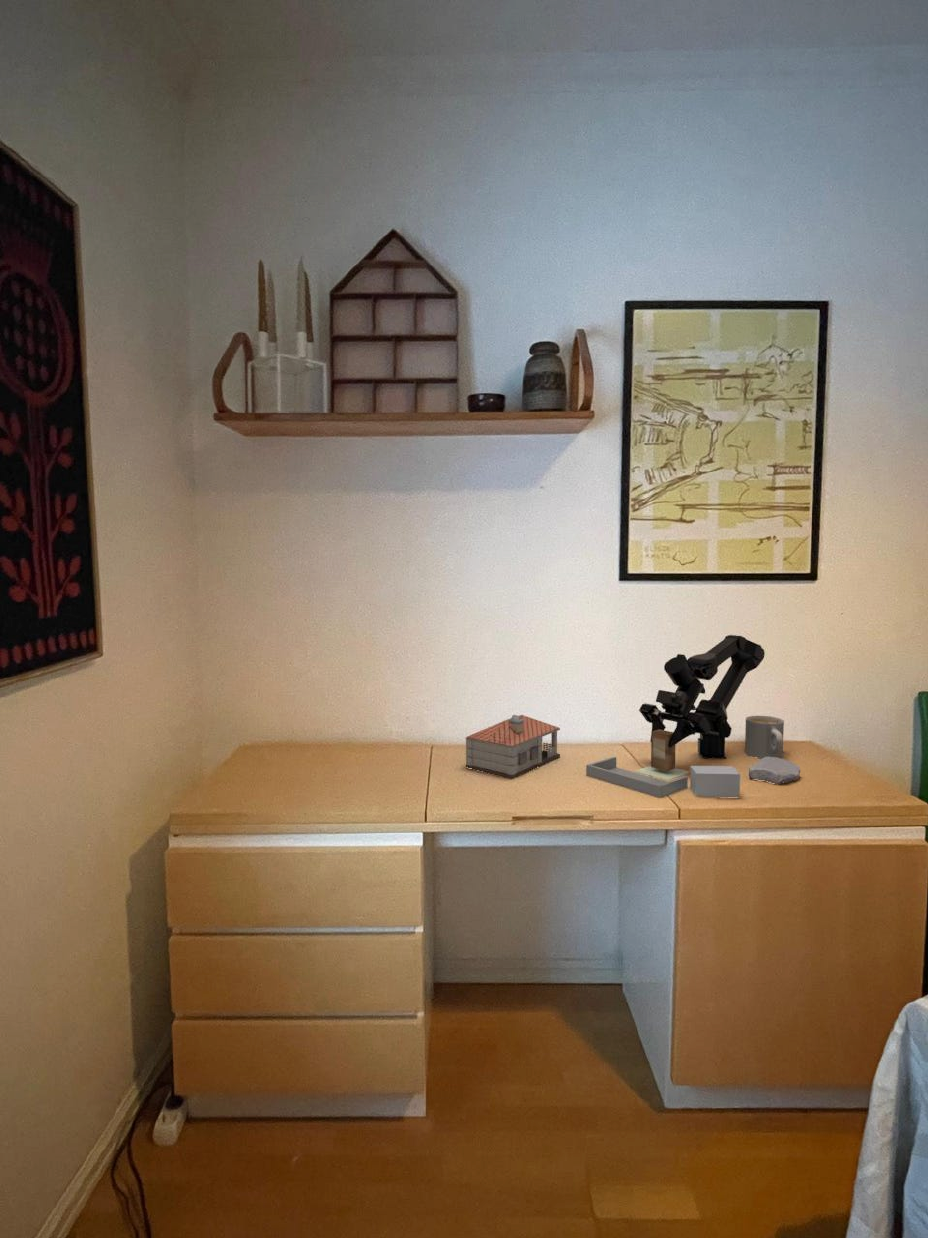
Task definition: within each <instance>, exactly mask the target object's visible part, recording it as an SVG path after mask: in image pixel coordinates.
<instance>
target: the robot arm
mask: <svg viewBox="0 0 928 1238" xmlns="http://www.w3.org/2000/svg"><path fill="white" fill-rule="evenodd" d="M764 658H765V650H764V648H763V647H762V645H761V644H757V643H756V642H754V641H753V642H752V641H751V640H749V639H747V638H745V636H743V635H735V634H729V635H726V636H725V637H724V639H722V640H721V641H720V642H719V643H717V644H716V645H714V646H713V647H712V648H711V649H709V650H708V651H706V652H705V653H701V654H695V655H692V656H690V657H689V658H687V657H686V655H685V654H681V653H677V654H676V656H675V657H672V658H670V659H668V661H666V662H665V663H664V666H663V669H664V671H665V673H666V674H667V676H668V677H669V679H670V681H671V682H672V684H673V685H675V686H676V687H677V688H676V690H675V691H674V692H673V691H668V690H661V689H659V690H658V692H657V695H656V697H655V702H656V703H659V704H661V708H662V709H663V710H664V711H661V710H660V709H659V708H658V706H657V705H656V704H650V703H647V702H645V703H642V704H641V706H640V708H639V710H638V712H639V713H640V714H641V716H642V717H643V718H644V719H645V722H648V723H649V724H651V732H652V731H655V730H659V729H660V730H665V729H666V728H667V727H666V725H665V724H664V721H665V720H666V721H670V722H673V723H676V726H675V728H674V731H672V732H673V734H672V736H671V738H670V740H669V743H668V747H669V748H671V747H672V746H674V745H675V744H676V745H677V744H679V743H680V742H681V741H682V740H684V739H686V738H687V737H688V738H689V737H690V736H695V734H699V737H698V738H697V750H696V751H697V753H698V754H699V756H700V757H701V758H702V759H716V760H717V759H719V760H723V759H725V760H726V759H727V756H726V751H725V749H726V738H728V739H729V737H731V733H732V727H731V725H730V724H729V722H728V712H727V709H728V707H729V705H730V704H731V702H732V700H733V698H734V697H735V694H736V693H737V691H738V690H739V688H740V686H741V684H742V683H743V681H744V679H745V677H746V676H747V674H748V673H749V672H751V671H753V670H755V669H757V668H758V666H760V664H761V662H763V660H764ZM729 659H730V662H731V663H730V665H729V667H728V668H727V671H726V672H725V674H724V676H723V678H722V679H721V681H720V683H719V684H718V686H717V687H716V689H715V691H714V692H713V694H712V696H711V698H710V699H703V698H702V699H701V700H700V701H699V703H698V705H697V706H695V703H696V701H697V699H698V697H699V696H700V694H702V695H704V694H706V688H705V687H704V686H705V685H704V683H702V681H710V680H712V679H713V678H714V677H715V676H716V675H717V674H718V672H719V671H718V670H719V669H718V668H719V667H720V666H721V665H722V664H723V663H725V662H726V661H727V660H729ZM701 680H702V681H701ZM693 711H694V712H693ZM676 745H675V746H676Z"/></svg>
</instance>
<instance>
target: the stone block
mask: <svg viewBox="0 0 928 1238" xmlns="http://www.w3.org/2000/svg"><path fill="white" fill-rule="evenodd" d="M748 771H749V772H748V776H749V777H748V778H750V779H751V778H752V779H758V780H765V781H768V782H771V783H775V784H778V785H780V784H779V783H782V784H784V783H783V782H785V783H788V782H787V781H790V782H792V781H791V780H794V781H796V780H795V779H797V780H799V776H800V774H801V768H800V766H799V765H797V764H796V763H794V762H791V761H789V760H787V759H785V758H777V757H764V758H762V759H761V758H760V760H758V761H757V763H756V764H750V766H749V770H748ZM752 779H751V780H752ZM775 784H774V785H775Z"/></svg>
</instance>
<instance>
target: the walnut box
mask: <svg viewBox="0 0 928 1238" xmlns="http://www.w3.org/2000/svg"><path fill="white" fill-rule="evenodd" d="M673 732H674V731H669V730H665V729H664V730H660V729H659V730H655V731H652V730H651V734H650V744H651V745H650V749H651V750H650V766H651V767H653V768H656V769H660V770H664V771H670V770H673V769H675V768H676V745H677V744H675V745H674V746H672V747H671V748H669V747H668V743H669V740H670V738H671V736H672V734H673Z"/></svg>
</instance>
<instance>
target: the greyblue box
mask: <svg viewBox="0 0 928 1238" xmlns="http://www.w3.org/2000/svg"><path fill="white" fill-rule="evenodd" d="M689 772H690V773H689V774H690V775H689V777H690V780H689V781H690V782H689V786H690V787H689V788H690V790H691V791H692V793H693V794H694V796H695V797H703V796H704V798H706V797H707V798H708V797H709V798H710V797H711V798H718V797H741V796H740V793H741V774H740V772H739V771H738V770H737V769H736V768H735V767H734V766H730V765H729V766H723V765H722V766H719V765H690V771H689ZM705 796H706V797H705Z"/></svg>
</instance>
